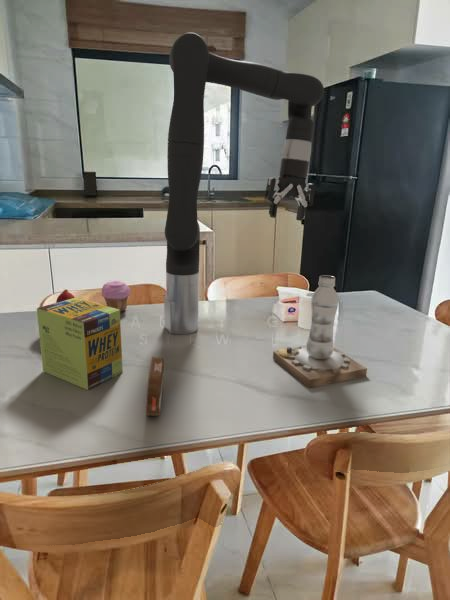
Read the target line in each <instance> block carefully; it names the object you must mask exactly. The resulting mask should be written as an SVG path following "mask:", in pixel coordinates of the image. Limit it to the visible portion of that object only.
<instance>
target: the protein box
mask: <svg viewBox="0 0 450 600" xmlns="http://www.w3.org/2000/svg"><path fill="white" fill-rule="evenodd" d="M93 302H94V301H89V300H85V299H81V298H78V297H75V298H72V299H69V300H65V301H61V302H58V303H56V302H55V303H52V304H47V305H43V306H40V307H37V308H36V315H37V324H38V334H39V345H40V352H41V353H40V354H41V365H42V371H43V372H44V373H47V374H49V375H51V376H54V377H56V378H58V379H61V380H63V381H65V382H68V383H70V384H72V385H75V386H77V387H80V388H81V389H84V390H87V391H89V390H91V389H93V388H95V387H96V386H99V385H101V384H102V383H105V382H106V381H108V380H111V379H112V378H114V377H116V376H119V375H120V374H122V373H123V372H124V371H123V354H122V351H123V350H122V331H121V329H122V327H121V312H120V310H119V309H116V308H112V307H108V306H107V305H104V304H102V305H101V303H99V304H97V303H98V302H95V303H93Z"/></svg>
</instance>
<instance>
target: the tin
mask: <svg viewBox="0 0 450 600" xmlns="http://www.w3.org/2000/svg"><path fill="white" fill-rule="evenodd" d="M164 366H165V358H164V357H154V356H152V357H151V361H150V367H149V372H148V380H147V389H146V401H145V402H146V403H145V405H146V407H145V416H160V415H161V408H162V399H163V398H162V397H163V387H164V385H163V383H164V376H163V375H164Z"/></svg>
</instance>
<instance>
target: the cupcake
mask: <svg viewBox="0 0 450 600" xmlns="http://www.w3.org/2000/svg"><path fill="white" fill-rule="evenodd" d="M130 295H131V289H130V287H129V286H128V285H127V284H126V283H125V282H124V281H121V280H114V281H113V280H112V281H111V280H110V281H107V282H105V283H104V284H103V286H102V288H101V296H102V298H104V301H105V304H106V306H108V307H112V308H116V309H119V310H120V313H121V312H124V311H125V310H126V309H127V306H128V297H129V296H130Z"/></svg>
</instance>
